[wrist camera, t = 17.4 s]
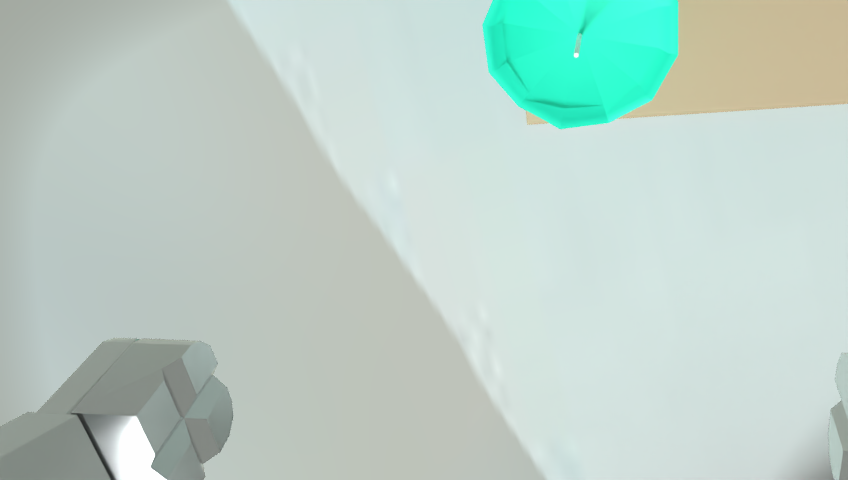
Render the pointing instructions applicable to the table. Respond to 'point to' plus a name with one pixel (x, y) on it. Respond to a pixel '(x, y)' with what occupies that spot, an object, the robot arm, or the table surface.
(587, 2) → the candle
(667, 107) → the tan flat wooden board
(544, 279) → the table surface
